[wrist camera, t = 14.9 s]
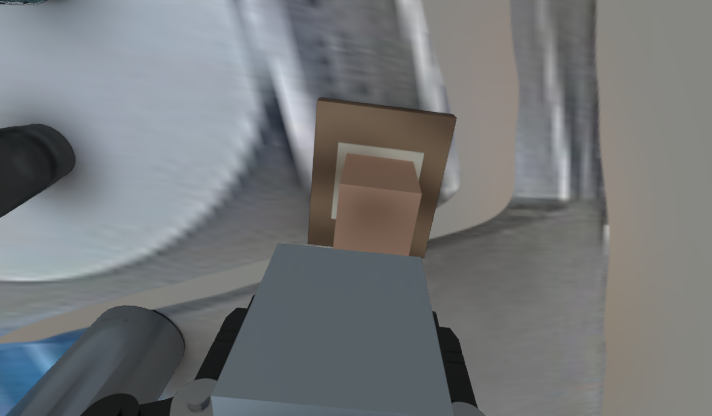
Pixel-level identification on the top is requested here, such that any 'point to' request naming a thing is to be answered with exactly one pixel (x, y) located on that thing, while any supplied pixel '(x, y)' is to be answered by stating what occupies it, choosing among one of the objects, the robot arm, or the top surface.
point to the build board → (379, 139)
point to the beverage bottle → (23, 0)
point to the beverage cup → (30, 163)
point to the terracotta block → (377, 205)
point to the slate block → (336, 340)
